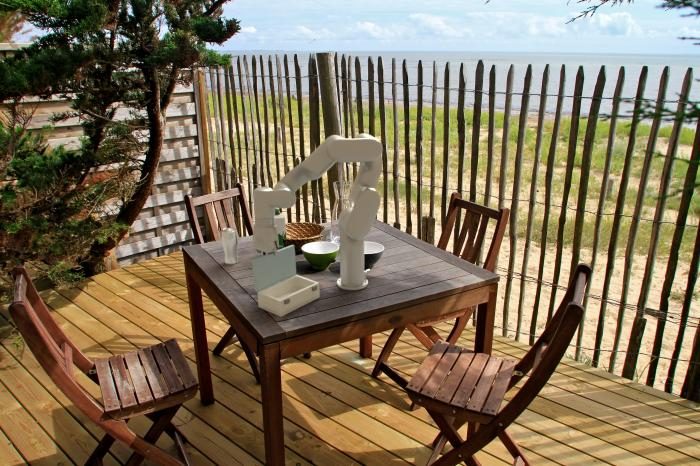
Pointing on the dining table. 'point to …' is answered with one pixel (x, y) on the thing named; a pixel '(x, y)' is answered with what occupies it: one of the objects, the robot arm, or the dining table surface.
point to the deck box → (288, 295)
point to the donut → (325, 233)
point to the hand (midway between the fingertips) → (267, 266)
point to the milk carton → (280, 227)
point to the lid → (274, 267)
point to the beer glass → (230, 245)
